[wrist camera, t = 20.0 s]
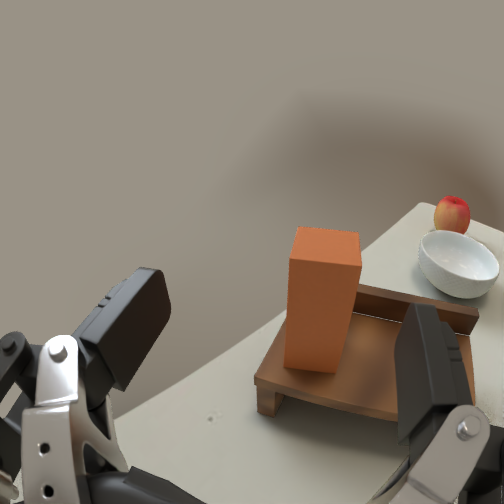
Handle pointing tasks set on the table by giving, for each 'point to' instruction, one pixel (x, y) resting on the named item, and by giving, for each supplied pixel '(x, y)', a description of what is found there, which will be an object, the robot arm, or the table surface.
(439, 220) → the apple
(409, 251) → the table surface
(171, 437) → the table surface
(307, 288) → the carton
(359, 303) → the shelf
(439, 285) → the cereal bowl
